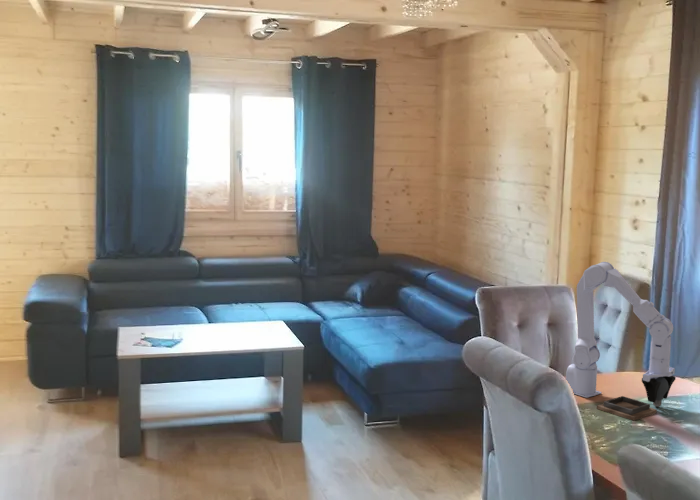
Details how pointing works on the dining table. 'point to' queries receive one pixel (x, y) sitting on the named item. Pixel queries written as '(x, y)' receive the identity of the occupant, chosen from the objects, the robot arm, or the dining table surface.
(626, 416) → the socket board
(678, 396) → the dining table surface
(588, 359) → the robot arm
